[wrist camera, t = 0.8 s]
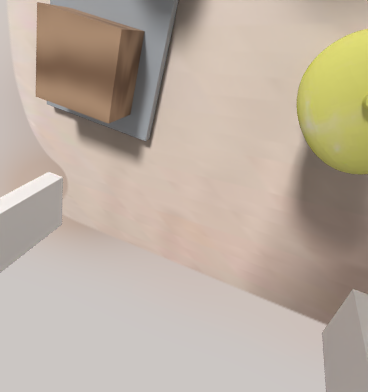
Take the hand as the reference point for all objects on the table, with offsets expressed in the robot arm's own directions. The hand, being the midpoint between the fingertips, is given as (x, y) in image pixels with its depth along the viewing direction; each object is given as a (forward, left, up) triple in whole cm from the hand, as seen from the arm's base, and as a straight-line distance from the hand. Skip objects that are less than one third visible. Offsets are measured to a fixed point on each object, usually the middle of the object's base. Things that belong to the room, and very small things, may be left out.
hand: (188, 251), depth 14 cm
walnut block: (-2, -19, -23) cm, 29 cm away
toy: (-7, +6, -24) cm, 26 cm away
